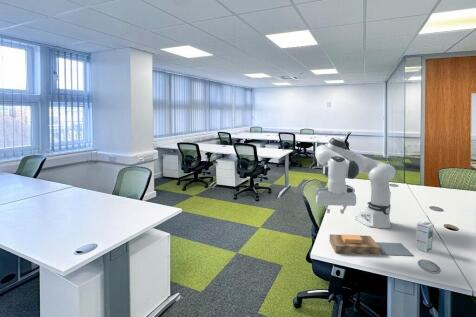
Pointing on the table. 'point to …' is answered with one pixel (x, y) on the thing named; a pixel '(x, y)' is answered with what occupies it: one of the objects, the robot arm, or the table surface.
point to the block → (351, 238)
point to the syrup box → (424, 236)
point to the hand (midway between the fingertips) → (335, 213)
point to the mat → (393, 249)
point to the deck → (355, 245)
